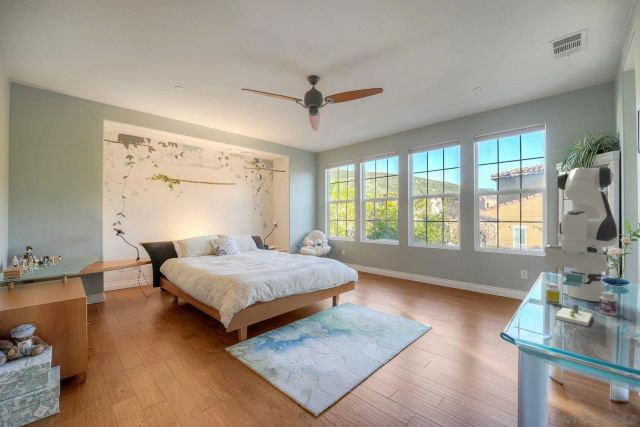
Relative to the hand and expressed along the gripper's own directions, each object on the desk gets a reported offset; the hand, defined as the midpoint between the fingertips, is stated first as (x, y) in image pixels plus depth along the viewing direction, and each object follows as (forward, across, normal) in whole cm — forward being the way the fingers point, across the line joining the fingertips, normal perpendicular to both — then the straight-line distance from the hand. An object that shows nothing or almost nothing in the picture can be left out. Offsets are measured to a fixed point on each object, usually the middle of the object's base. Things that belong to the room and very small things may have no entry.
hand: (574, 278), depth 118 cm
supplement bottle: (+18, -11, +19) cm, 28 cm away
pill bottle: (+18, +8, +20) cm, 28 cm away
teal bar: (+2, 0, 0) cm, 2 cm away
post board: (+18, 0, 0) cm, 18 cm away
